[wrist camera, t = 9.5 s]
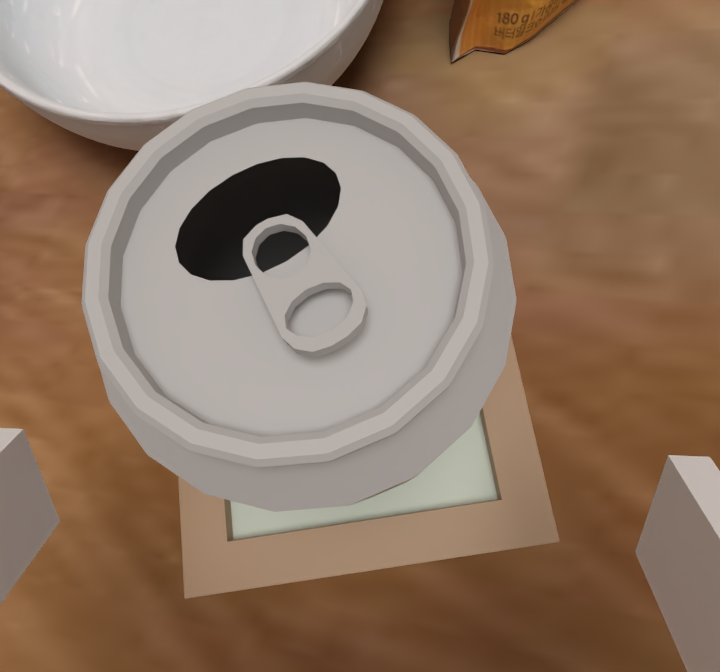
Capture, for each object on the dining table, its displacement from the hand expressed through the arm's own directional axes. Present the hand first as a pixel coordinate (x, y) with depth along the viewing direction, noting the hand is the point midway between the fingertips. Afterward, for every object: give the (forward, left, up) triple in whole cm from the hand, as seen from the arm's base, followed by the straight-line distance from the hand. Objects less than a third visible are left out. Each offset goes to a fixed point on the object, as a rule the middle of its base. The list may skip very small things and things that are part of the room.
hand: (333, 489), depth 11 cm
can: (+3, 0, -8) cm, 8 cm away
